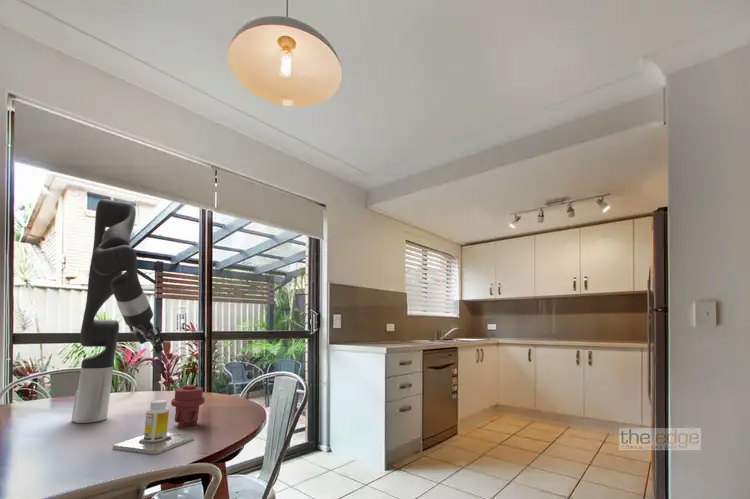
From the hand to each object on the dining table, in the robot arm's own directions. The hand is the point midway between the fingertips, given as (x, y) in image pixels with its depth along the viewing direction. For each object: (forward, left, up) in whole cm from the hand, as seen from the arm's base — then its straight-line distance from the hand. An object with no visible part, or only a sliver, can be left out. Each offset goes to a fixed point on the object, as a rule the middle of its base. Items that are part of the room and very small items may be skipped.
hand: (151, 346), depth 127 cm
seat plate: (+13, -9, -25) cm, 30 cm away
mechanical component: (+7, +10, -25) cm, 28 cm away
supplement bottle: (+13, -9, -24) cm, 29 cm away
